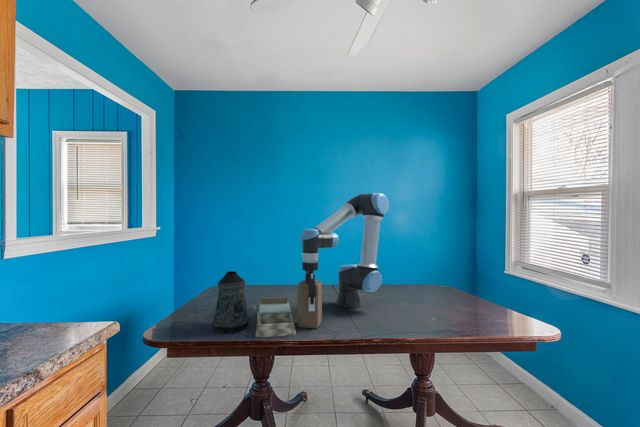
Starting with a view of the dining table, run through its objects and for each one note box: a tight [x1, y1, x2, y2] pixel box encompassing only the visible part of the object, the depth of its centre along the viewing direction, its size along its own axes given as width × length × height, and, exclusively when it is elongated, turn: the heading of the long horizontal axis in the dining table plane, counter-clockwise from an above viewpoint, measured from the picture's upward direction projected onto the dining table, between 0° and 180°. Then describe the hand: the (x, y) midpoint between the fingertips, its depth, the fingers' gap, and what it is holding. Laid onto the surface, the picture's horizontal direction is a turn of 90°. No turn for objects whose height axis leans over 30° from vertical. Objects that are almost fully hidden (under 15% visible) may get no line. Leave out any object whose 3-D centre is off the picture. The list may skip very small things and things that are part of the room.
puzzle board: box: [255, 306, 297, 338], centre depth 147 cm, size 17×32×5 cm, turn 10°
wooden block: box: [296, 279, 323, 329], centre depth 146 cm, size 10×10×20 cm
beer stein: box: [211, 270, 251, 335], centre depth 143 cm, size 16×19×25 cm
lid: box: [258, 296, 292, 314], centre depth 153 cm, size 15×15×4 cm
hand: (309, 306), depth 146 cm, fingers open, 13 cm apart
